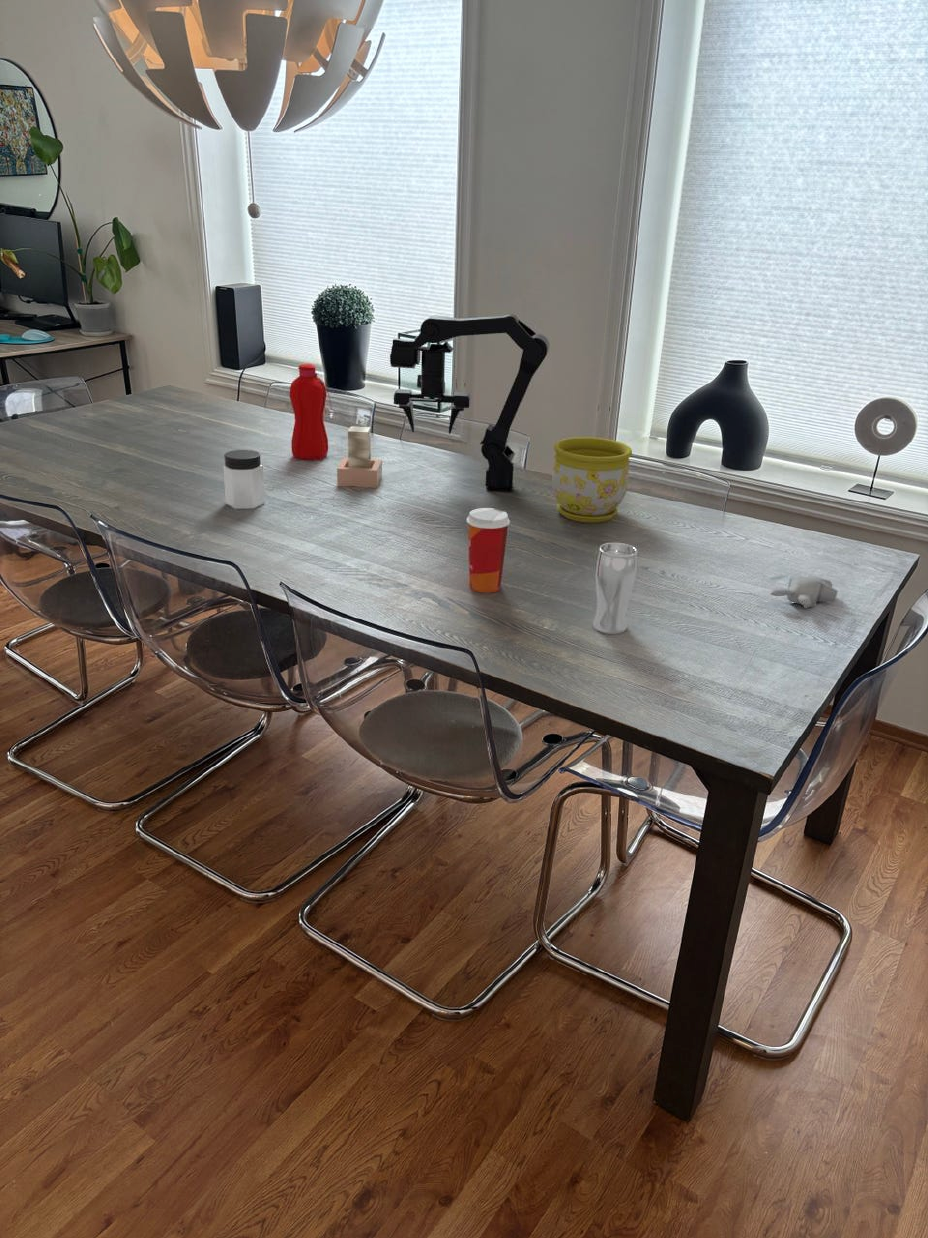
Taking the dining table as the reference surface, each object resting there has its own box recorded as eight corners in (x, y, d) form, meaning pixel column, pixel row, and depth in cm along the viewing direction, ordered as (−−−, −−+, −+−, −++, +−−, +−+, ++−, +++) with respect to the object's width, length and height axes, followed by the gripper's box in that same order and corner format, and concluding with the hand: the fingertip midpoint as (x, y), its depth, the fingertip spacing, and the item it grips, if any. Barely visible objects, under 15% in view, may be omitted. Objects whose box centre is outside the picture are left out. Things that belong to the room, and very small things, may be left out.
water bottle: (327, 462, 258) (325, 369, 247) (288, 459, 259) (284, 366, 248) (337, 453, 266) (335, 362, 255) (299, 450, 267) (295, 360, 257)
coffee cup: (481, 575, 190) (484, 503, 184) (514, 586, 186) (519, 513, 179) (454, 587, 184) (457, 514, 178) (488, 599, 180) (491, 524, 173)
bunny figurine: (848, 580, 185) (816, 593, 174) (841, 605, 186) (809, 619, 176) (802, 566, 190) (768, 577, 180) (796, 590, 192) (762, 603, 182)
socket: (381, 476, 248) (381, 459, 246) (376, 487, 239) (376, 470, 237) (343, 474, 249) (343, 457, 247) (337, 485, 240) (337, 468, 238)
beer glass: (625, 618, 174) (634, 542, 168) (632, 635, 168) (642, 556, 162) (587, 618, 174) (595, 541, 167) (593, 635, 168) (601, 556, 161)
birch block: (370, 474, 246) (370, 427, 240) (368, 480, 241) (367, 432, 236) (351, 473, 246) (350, 426, 240) (348, 479, 241) (347, 431, 236)
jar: (224, 509, 220) (220, 459, 215) (227, 498, 228) (224, 449, 223) (263, 509, 222) (260, 459, 217) (265, 498, 229) (262, 449, 224)
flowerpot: (568, 497, 238) (574, 432, 231) (635, 511, 230) (643, 445, 223) (535, 516, 224) (540, 448, 217) (606, 532, 216) (614, 462, 209)
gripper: (472, 365, 240) (469, 426, 247) (398, 361, 240) (398, 423, 247) (470, 373, 230) (467, 437, 237) (393, 370, 230) (393, 433, 237)
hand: (431, 432), depth 240 cm, fingers open, 9 cm apart
